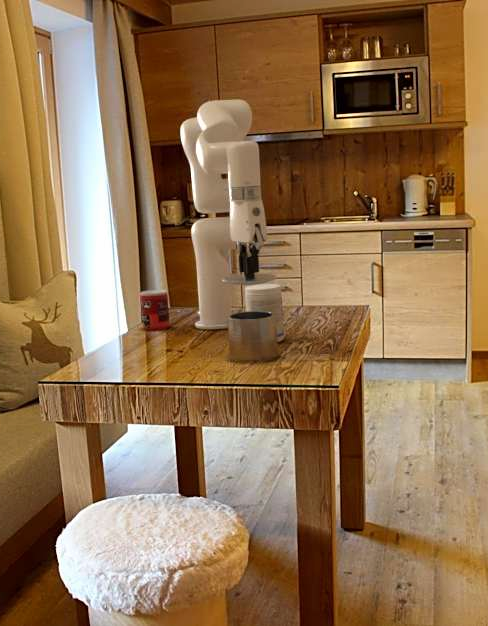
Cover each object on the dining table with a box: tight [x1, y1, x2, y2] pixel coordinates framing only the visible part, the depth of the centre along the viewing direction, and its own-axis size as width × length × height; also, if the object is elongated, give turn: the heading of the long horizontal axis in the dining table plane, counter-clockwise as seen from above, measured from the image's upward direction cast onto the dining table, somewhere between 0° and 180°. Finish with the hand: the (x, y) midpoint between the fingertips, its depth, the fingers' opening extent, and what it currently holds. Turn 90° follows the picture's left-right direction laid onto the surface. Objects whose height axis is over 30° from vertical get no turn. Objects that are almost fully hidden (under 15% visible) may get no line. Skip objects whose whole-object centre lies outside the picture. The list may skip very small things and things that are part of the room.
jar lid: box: [223, 253, 277, 286], centre depth 197 cm, size 13×13×7 cm
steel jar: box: [227, 310, 279, 362], centre depth 200 cm, size 12×12×10 cm
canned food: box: [139, 289, 170, 332], centre depth 245 cm, size 8×8×11 cm
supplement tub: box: [244, 283, 285, 343], centre depth 218 cm, size 10×10×15 cm
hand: (249, 271), depth 198 cm, fingers closed on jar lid, 2 cm apart
